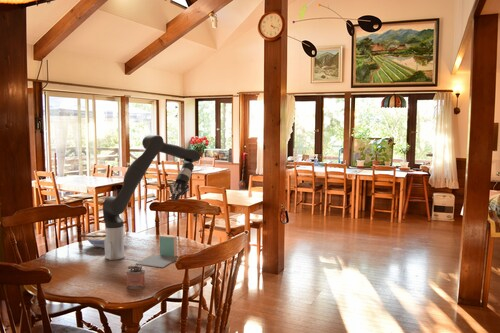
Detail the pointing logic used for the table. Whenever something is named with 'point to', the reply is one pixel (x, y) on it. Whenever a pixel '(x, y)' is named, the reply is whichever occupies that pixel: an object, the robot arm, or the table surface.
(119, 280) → the table surface
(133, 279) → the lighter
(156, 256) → the rubber mat
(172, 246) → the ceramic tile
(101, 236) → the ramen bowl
